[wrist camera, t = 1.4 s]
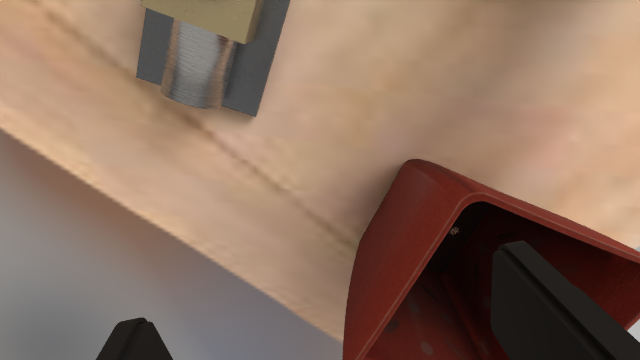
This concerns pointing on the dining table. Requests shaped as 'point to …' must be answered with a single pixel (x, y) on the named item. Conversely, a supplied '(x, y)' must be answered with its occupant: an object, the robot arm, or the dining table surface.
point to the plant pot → (464, 267)
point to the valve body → (211, 50)
